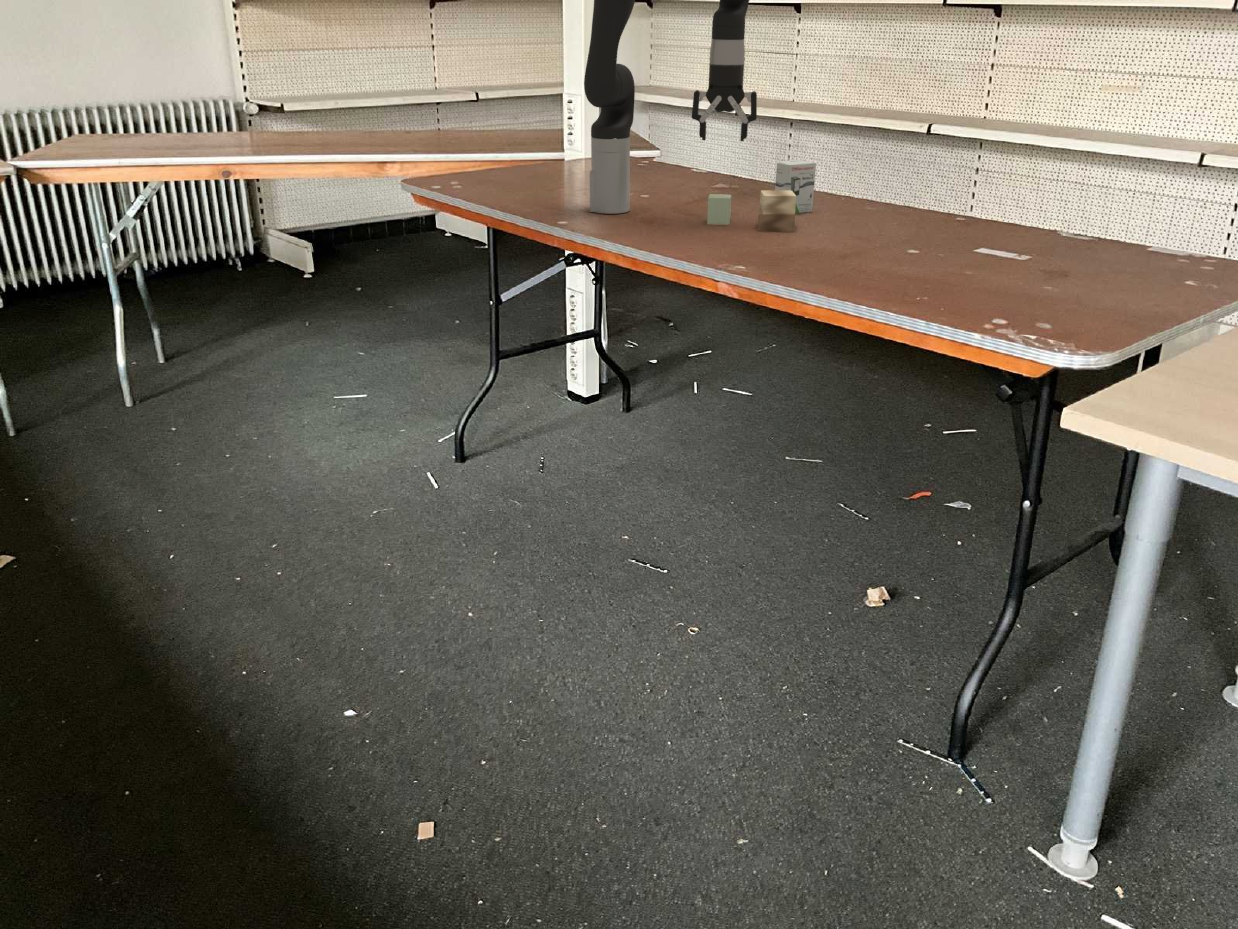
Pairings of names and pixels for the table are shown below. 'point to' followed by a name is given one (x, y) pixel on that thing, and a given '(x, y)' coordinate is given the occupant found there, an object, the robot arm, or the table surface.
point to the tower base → (776, 222)
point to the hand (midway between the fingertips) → (723, 140)
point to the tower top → (777, 202)
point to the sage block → (719, 209)
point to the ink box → (797, 181)
